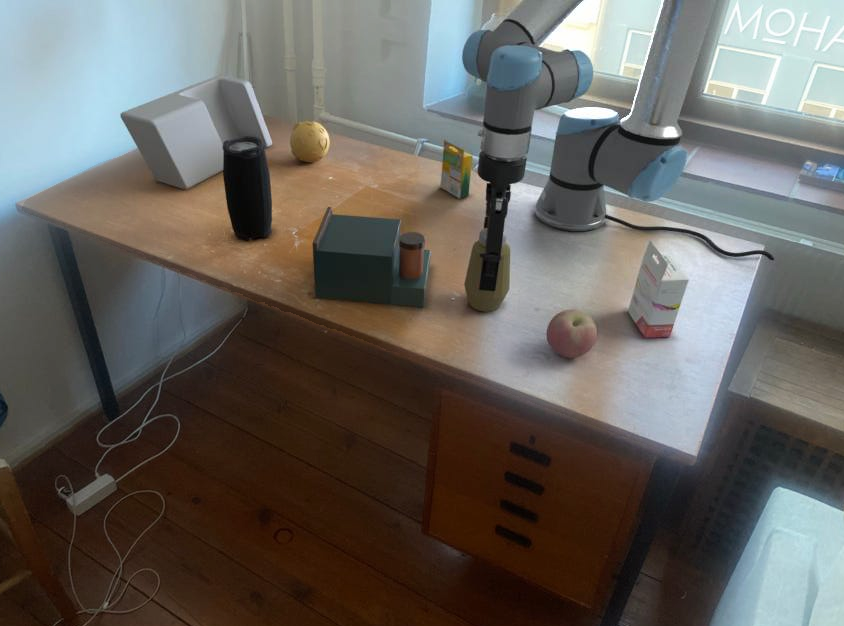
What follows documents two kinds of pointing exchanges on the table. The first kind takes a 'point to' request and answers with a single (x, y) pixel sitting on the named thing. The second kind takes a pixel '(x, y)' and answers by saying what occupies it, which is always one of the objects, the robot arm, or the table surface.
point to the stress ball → (309, 141)
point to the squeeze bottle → (475, 296)
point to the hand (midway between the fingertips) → (487, 269)
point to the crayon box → (456, 170)
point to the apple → (571, 333)
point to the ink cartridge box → (657, 294)
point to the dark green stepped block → (364, 262)
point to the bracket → (195, 128)
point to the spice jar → (411, 255)
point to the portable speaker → (247, 187)
